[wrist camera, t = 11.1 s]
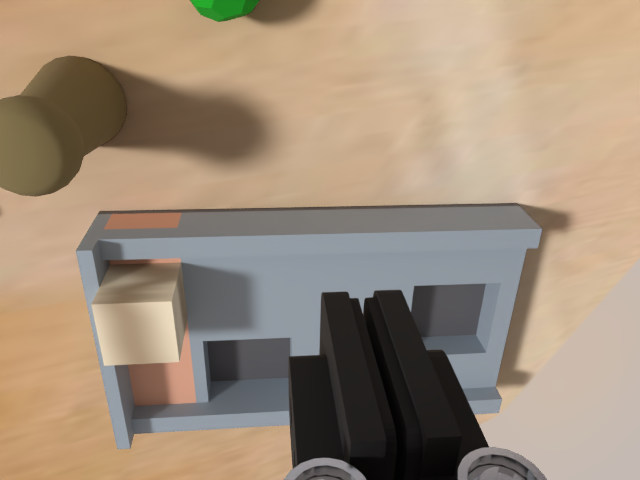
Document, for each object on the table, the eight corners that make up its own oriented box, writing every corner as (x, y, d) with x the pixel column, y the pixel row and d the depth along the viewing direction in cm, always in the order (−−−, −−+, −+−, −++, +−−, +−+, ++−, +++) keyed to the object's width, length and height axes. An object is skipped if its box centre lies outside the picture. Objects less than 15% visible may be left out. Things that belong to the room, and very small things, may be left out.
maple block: (181, 262, 40) (171, 301, 36) (187, 318, 42) (179, 362, 38) (109, 264, 39) (91, 304, 35) (120, 321, 42) (104, 365, 37)
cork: (54, 36, 35) (-24, 70, 25) (142, 90, 37) (102, 141, 27) (17, 114, 37) (-69, 174, 27) (102, 162, 39) (51, 233, 29)
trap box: (516, 203, 44) (552, 238, 39) (480, 377, 52) (505, 425, 47) (99, 211, 41) (75, 250, 35) (132, 395, 49) (117, 449, 44)
